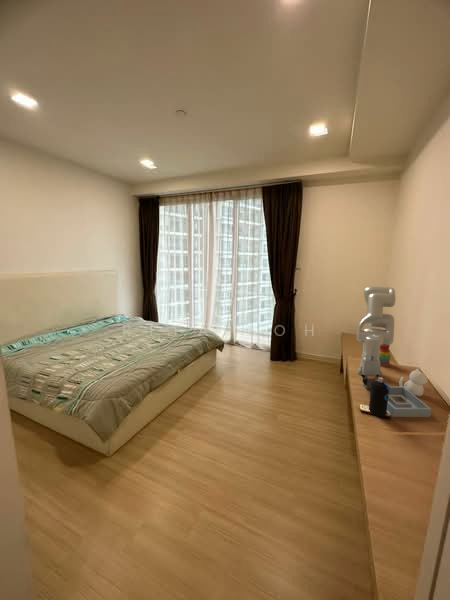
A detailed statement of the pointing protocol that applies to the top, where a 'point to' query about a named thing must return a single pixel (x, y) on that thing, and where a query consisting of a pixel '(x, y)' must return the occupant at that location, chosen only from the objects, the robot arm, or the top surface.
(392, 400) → the inlet
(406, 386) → the cat figurine
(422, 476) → the top surface
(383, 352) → the stacking bear
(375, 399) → the aerosol can
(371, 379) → the block
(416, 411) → the walled box
